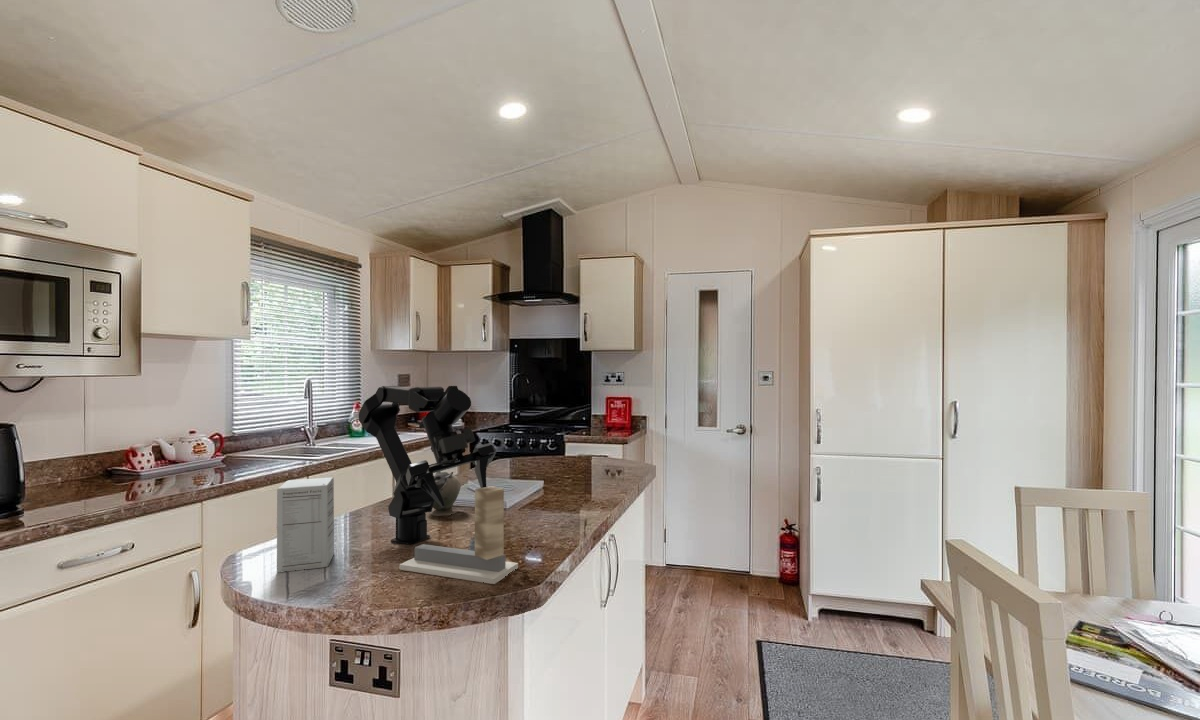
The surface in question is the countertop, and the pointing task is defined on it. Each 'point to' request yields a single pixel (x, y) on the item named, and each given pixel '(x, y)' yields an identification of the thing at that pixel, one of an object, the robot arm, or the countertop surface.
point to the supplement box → (305, 524)
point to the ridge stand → (458, 564)
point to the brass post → (489, 522)
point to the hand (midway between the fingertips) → (464, 499)
